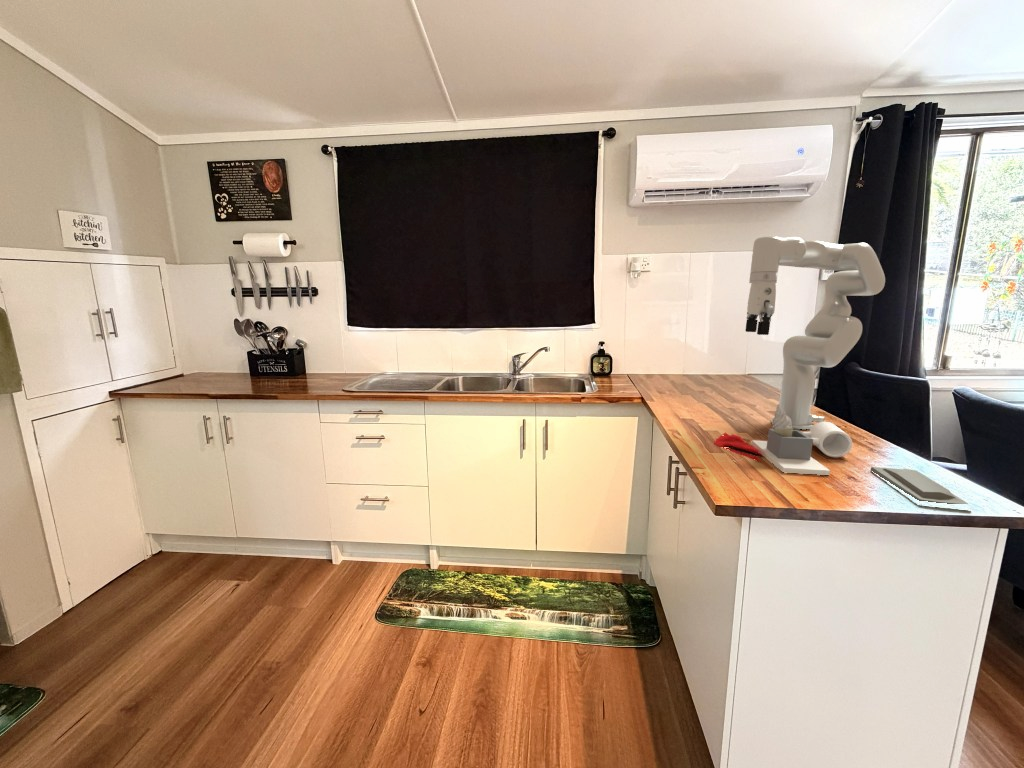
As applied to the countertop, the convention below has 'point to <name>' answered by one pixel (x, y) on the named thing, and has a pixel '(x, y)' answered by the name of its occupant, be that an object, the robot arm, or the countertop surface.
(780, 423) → the ice cream cone
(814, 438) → the mug
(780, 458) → the box socket base
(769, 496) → the countertop surface
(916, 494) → the soap mold
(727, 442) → the red lips
